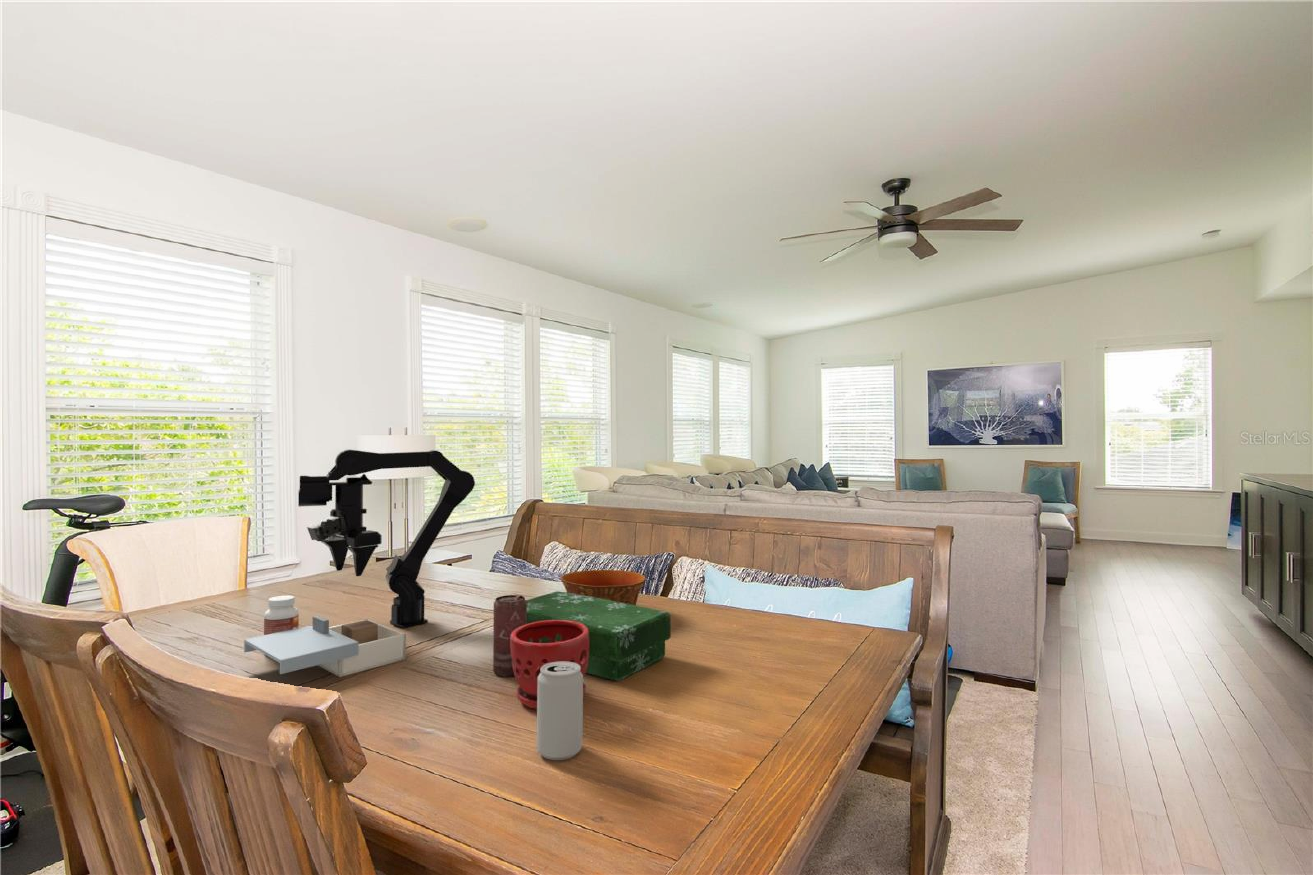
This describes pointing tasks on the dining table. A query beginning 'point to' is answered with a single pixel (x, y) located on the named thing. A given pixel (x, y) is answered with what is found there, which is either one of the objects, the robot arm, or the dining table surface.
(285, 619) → the pill bottle
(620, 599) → the bowl
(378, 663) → the box
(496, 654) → the can
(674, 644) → the dining table surface
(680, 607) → the dining table surface
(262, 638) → the lid
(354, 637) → the walnut block
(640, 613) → the box
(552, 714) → the beverage can
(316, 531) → the robot arm
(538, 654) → the plant pot
